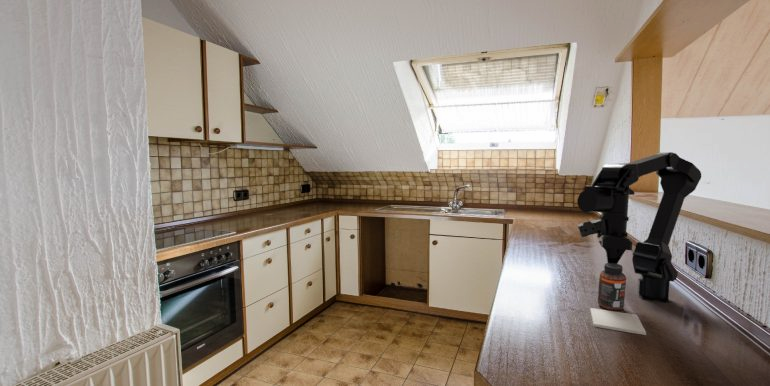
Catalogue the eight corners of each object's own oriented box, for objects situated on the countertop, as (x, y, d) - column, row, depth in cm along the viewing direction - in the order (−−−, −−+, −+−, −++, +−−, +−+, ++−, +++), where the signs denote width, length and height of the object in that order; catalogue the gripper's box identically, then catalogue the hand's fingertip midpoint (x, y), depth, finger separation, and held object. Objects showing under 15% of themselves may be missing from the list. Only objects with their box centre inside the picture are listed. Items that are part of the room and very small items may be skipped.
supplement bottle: (624, 313, 94) (627, 271, 92) (597, 308, 97) (599, 267, 95) (623, 303, 99) (626, 263, 97) (597, 298, 102) (600, 259, 100)
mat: (636, 317, 91) (636, 314, 91) (645, 335, 81) (646, 332, 81) (590, 310, 95) (590, 307, 95) (593, 326, 85) (593, 323, 85)
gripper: (579, 206, 110) (576, 258, 111) (581, 212, 93) (578, 273, 94) (623, 209, 105) (619, 263, 106) (634, 216, 88) (630, 280, 89)
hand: (610, 269), depth 99 cm, fingers closed
